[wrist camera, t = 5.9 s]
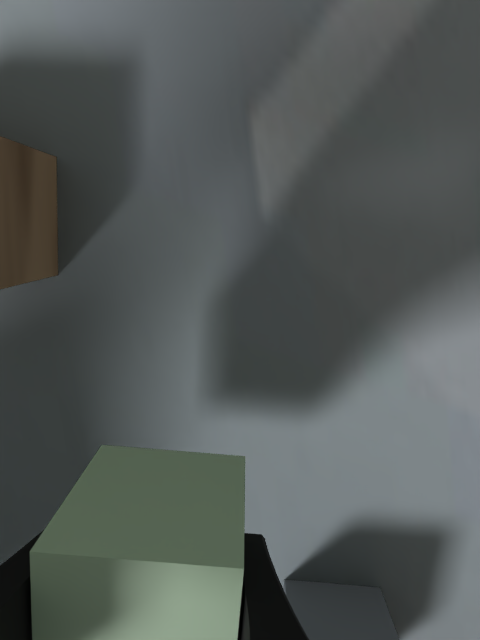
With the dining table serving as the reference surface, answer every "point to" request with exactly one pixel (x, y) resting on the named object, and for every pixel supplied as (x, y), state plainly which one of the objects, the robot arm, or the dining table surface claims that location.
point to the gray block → (340, 611)
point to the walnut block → (27, 214)
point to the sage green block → (144, 550)
